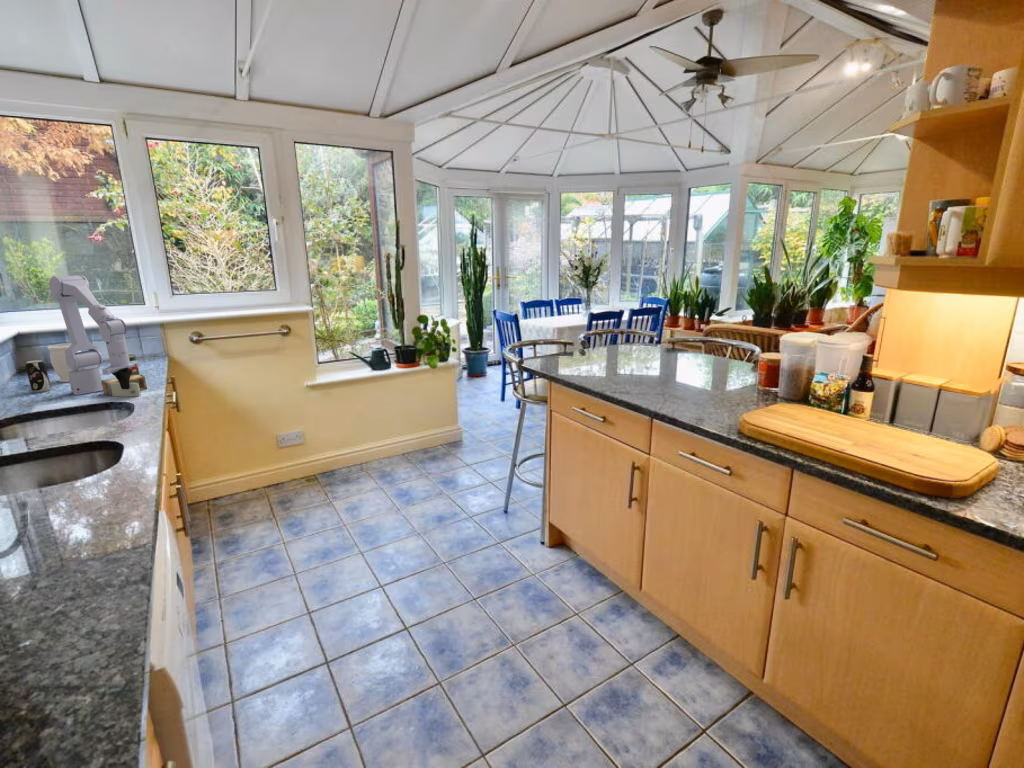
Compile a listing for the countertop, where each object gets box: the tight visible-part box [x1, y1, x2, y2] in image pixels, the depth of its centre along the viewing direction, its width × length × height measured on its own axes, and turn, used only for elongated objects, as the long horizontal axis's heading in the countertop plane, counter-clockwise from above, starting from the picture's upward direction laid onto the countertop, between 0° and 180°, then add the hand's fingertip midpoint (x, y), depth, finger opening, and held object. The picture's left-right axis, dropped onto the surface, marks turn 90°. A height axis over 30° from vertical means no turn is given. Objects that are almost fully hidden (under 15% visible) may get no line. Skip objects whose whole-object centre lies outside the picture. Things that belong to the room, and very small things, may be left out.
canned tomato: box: [128, 353, 140, 376], centre depth 209 cm, size 8×8×11 cm
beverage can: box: [25, 359, 52, 393], centre depth 197 cm, size 6×6×12 cm
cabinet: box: [101, 373, 148, 397], centre depth 197 cm, size 13×6×5 cm, turn 138°
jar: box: [47, 342, 82, 383], centre depth 213 cm, size 11×10×15 cm
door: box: [107, 383, 142, 397], centre depth 190 cm, size 12×2×5 cm, turn 86°
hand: (126, 388), depth 189 cm, fingers closed, pressing on door
